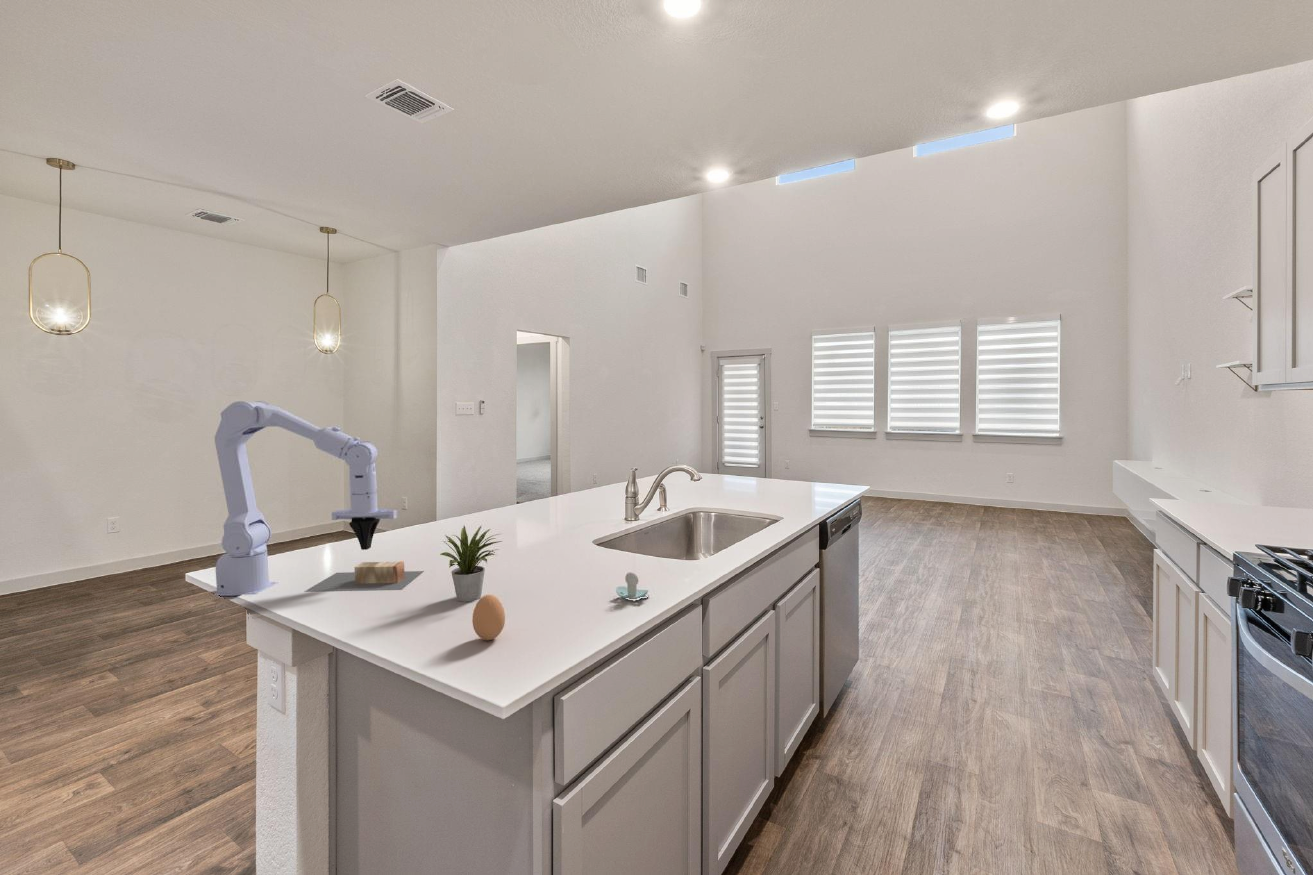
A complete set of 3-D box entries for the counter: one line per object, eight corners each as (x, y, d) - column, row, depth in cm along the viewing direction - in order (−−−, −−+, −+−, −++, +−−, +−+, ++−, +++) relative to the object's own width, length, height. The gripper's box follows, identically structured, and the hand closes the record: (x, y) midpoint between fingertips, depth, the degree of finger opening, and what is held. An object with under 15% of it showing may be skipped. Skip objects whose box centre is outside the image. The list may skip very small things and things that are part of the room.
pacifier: (625, 592, 129) (613, 600, 123) (625, 565, 129) (613, 572, 123) (654, 596, 126) (643, 605, 120) (654, 569, 126) (643, 576, 120)
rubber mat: (304, 593, 129) (304, 591, 129) (336, 574, 143) (336, 572, 143) (401, 591, 130) (401, 589, 129) (424, 572, 143) (424, 571, 143)
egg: (511, 638, 104) (510, 594, 103) (483, 649, 99) (482, 603, 99) (494, 630, 108) (493, 587, 107) (466, 639, 103) (465, 595, 103)
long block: (354, 567, 134) (397, 566, 134) (362, 562, 138) (404, 561, 138) (355, 583, 134) (397, 582, 134) (363, 578, 138) (404, 577, 138)
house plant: (480, 613, 116) (478, 535, 115) (420, 609, 119) (417, 533, 117) (512, 590, 130) (510, 520, 129) (457, 587, 132) (455, 518, 131)
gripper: (401, 489, 139) (403, 543, 140) (341, 490, 138) (344, 544, 139) (388, 494, 132) (391, 551, 133) (325, 495, 131) (328, 552, 132)
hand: (366, 548), depth 136 cm, fingers closed
